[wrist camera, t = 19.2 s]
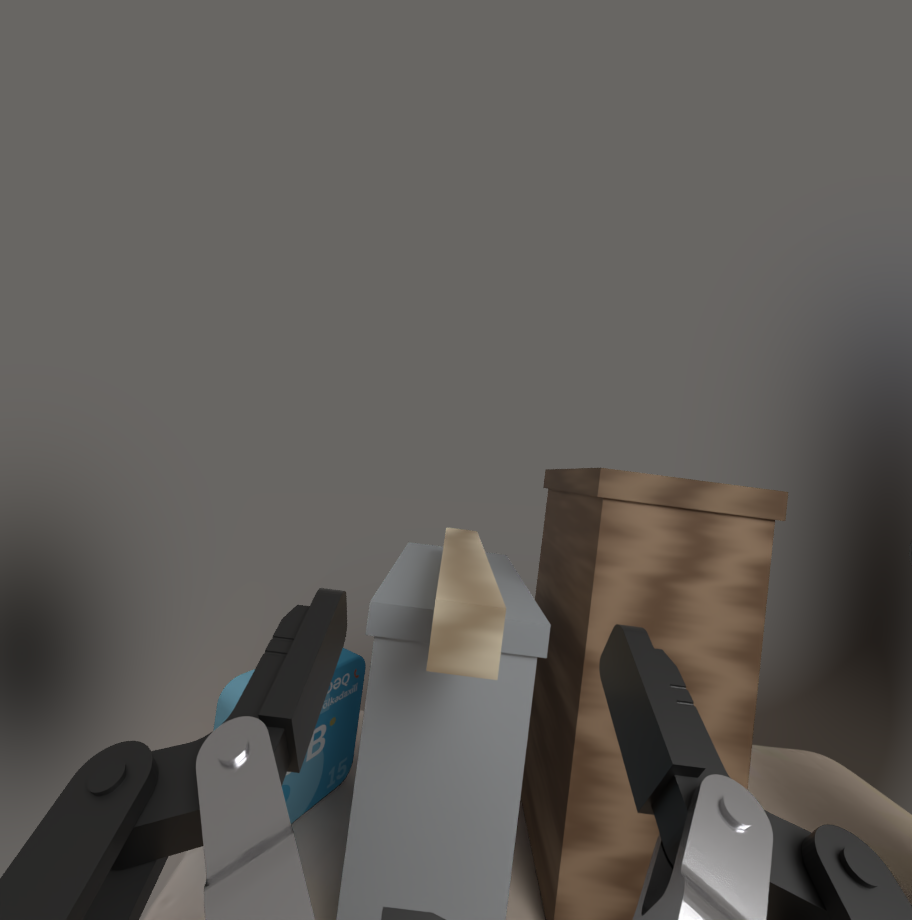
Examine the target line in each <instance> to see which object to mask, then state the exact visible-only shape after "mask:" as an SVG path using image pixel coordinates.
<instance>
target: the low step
mask: <svg viewBox="0 0 912 920" xmlns="http://www.w3.org/2000/svg"><path fill="white" fill-rule="evenodd" d="M442 553H443V547H441V546H433V545H426V544H418V543H410V542H409V543H408V544H407V546H406V548H405V549H404V551H403V552H402V553H401V555H400V557H399V558H398V560H397V561H396V563H395V564H394V566H393V567H392V569H391V570H390V572H389V573H388V575H387V577H386V578H385V580H384V581H383V583H382V584H381V586H380V587H379V589H378V590H377V592H376V594H375V595H374V597H373V598H372V600H371V601H370V607H369V614H368V621H367V629H366V635H370V636H374V643H373V651H372V658H371V666H370V673H369V681H368V688H367V696H366V703H365V710H364V718H363V725H362V733H361V740H360V748H359V755H358V762H357V770H356V777H355V785H354V792H353V800H352V807H351V814H350V822H349V829H348V837H347V844H346V852H345V859H344V867H343V874H342V881H341V889H340V896H339V904H338V911H337V919H336V920H381V916H382V910H383V907H391V908H399V909H407V910H415V911H423V912H432V913H434V914H436V915H438V916H440V917H442V918H444V919H446V920H506V912H507V904H508V896H509V888H510V879H511V871H512V863H513V855H514V846H515V838H516V830H517V822H518V813H519V805H520V797H521V788H522V780H523V772H524V764H525V755H526V747H527V739H528V731H529V722H530V714H531V706H532V698H533V689H534V681H535V673H536V664H537V657H541V658H547V652H548V643H549V635H550V627H551V625H550V623H549V621H548V620H547V618H546V617H545V615H544V614H543V612H542V610H541V609H540V607H539V606H538V604H537V603H536V601H535V599H534V598H533V596H532V595H531V593H530V592H529V590H528V588H527V587H526V585H525V584H524V582H523V581H522V579H521V577H520V576H519V574H518V573H517V571H516V570H515V568H514V566H513V565H512V563H511V562H510V560H509V559H508V557H507V556H506V555H503V554H495V553H487V552H485V554H486V556H487V559H488V562H489V564H490V567H491V569H492V572H493V575H494V577H495V580H496V583H497V585H498V588H499V590H500V593H501V596H502V598H503V601H504V604H505V606H506V615H505V623H504V631H503V639H502V647H501V655H500V663H499V671H498V680H491V679H483V678H475V677H468V676H460V675H452V674H445V673H437V672H429V671H426V669H427V661H428V653H429V646H430V638H431V630H432V623H433V615H434V607H435V599H436V593H437V586H438V580H439V573H440V567H441V560H442Z"/></svg>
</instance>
